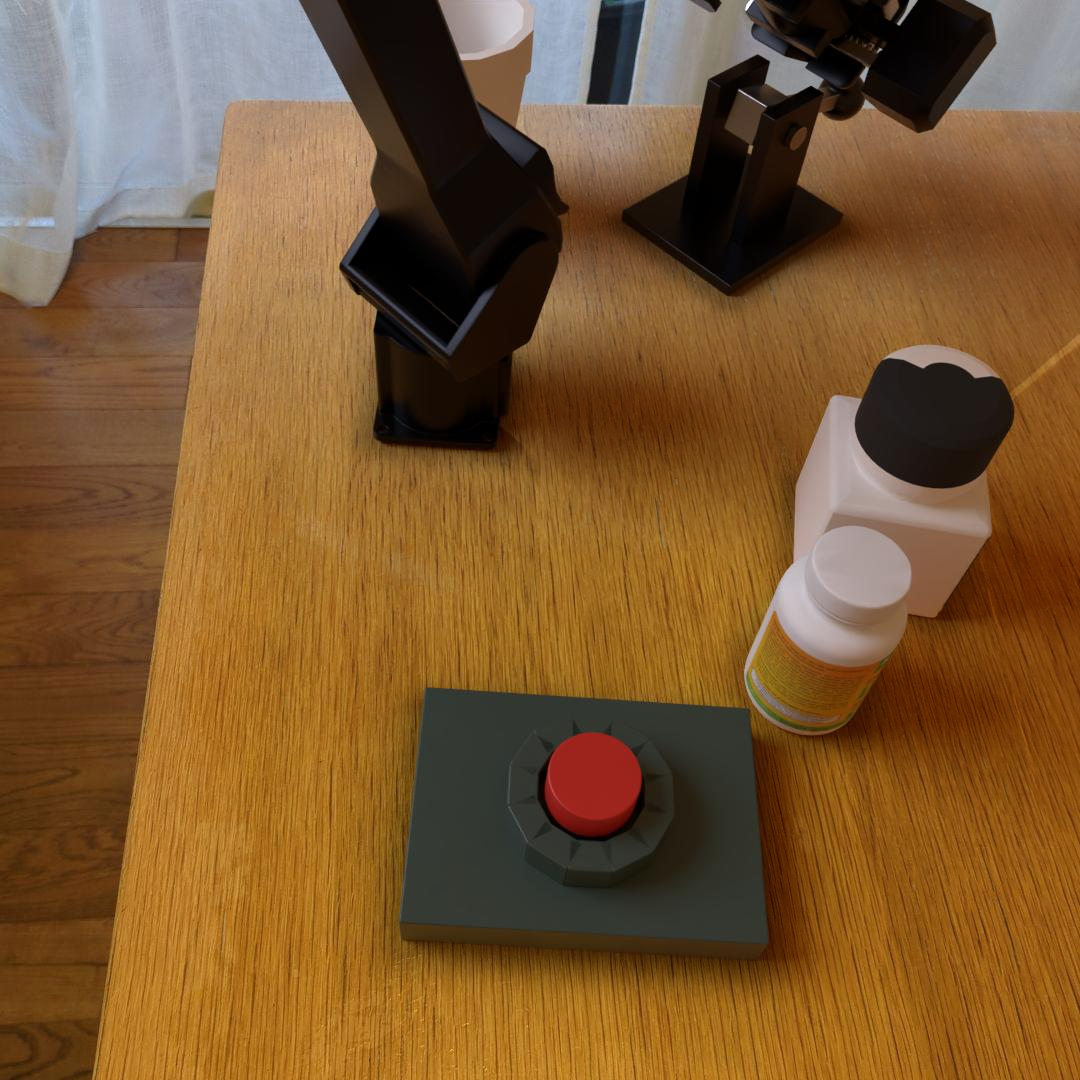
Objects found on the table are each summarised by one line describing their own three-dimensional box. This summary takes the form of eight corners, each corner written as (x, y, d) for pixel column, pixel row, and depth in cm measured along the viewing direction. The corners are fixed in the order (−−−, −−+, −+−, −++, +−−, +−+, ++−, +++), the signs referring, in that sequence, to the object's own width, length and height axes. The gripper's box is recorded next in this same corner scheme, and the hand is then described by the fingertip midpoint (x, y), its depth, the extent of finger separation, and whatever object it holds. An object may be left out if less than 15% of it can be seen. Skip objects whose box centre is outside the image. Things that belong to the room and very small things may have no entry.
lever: (825, 104, 73) (845, 58, 70) (862, 126, 71) (883, 80, 69) (716, 130, 65) (734, 80, 63) (755, 154, 64) (774, 104, 62)
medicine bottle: (937, 621, 54) (1044, 461, 44) (790, 596, 54) (865, 432, 45) (929, 507, 58) (1026, 338, 49) (793, 485, 58) (862, 312, 49)
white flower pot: (382, 162, 72) (371, -40, 62) (525, 173, 73) (538, -26, 62) (363, 257, 67) (347, 53, 56) (517, 269, 67) (529, 68, 57)
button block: (400, 940, 43) (396, 906, 40) (425, 710, 49) (424, 665, 46) (756, 961, 44) (781, 929, 41) (739, 730, 50) (759, 687, 47)
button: (542, 834, 43) (546, 816, 41) (545, 748, 45) (549, 728, 43) (636, 840, 43) (643, 823, 41) (635, 754, 45) (641, 734, 43)
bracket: (734, 161, 75) (768, 20, 67) (839, 229, 72) (888, 89, 64) (619, 225, 70) (641, 82, 62) (726, 302, 67) (763, 160, 59)
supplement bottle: (856, 750, 50) (933, 636, 42) (736, 724, 50) (790, 607, 42) (860, 648, 53) (932, 525, 45) (747, 625, 53) (799, 498, 45)
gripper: (1060, -151, 49) (1076, 13, 63) (742, -289, 57) (819, -115, 70) (897, 74, 52) (947, 184, 66) (615, -85, 60) (713, 44, 73)
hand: (855, 66), depth 69 cm, fingers closed, pressing on lever
